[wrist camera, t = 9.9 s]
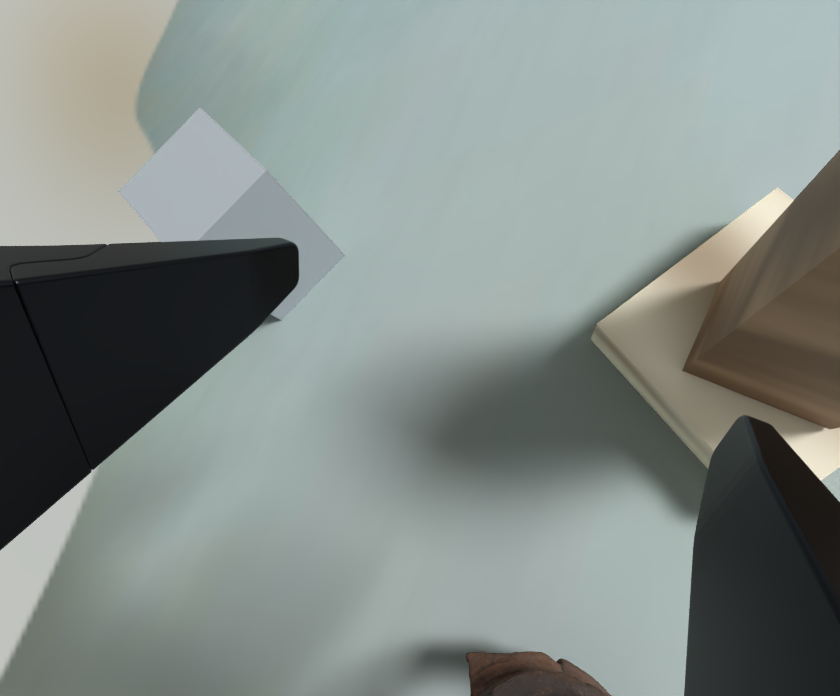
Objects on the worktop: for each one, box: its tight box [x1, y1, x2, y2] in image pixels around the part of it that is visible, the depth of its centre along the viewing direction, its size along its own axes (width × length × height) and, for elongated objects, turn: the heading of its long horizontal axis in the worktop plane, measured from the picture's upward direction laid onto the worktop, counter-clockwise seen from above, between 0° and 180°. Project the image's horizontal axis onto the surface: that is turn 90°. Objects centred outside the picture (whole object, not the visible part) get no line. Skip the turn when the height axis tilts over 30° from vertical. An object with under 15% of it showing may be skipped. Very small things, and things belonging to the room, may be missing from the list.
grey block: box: [118, 108, 345, 320], centre depth 23 cm, size 5×5×8 cm
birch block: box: [591, 188, 840, 481], centre depth 19 cm, size 9×9×3 cm
